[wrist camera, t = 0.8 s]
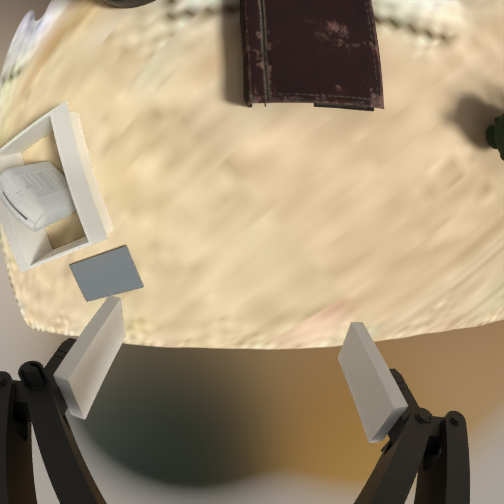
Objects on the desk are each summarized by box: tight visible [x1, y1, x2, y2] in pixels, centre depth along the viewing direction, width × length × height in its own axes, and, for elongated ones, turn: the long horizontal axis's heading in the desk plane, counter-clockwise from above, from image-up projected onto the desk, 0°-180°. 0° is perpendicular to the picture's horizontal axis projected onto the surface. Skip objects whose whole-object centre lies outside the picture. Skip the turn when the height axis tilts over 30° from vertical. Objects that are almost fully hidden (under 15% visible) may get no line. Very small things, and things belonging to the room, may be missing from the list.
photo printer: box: [0, 161, 77, 232], centre depth 31 cm, size 10×4×12 cm, turn 46°
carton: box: [0, 101, 114, 273], centre depth 34 cm, size 19×19×7 cm
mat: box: [70, 245, 144, 302], centre depth 42 cm, size 7×12×1 cm, turn 106°
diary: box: [240, 0, 384, 111], centre depth 28 cm, size 19×25×5 cm
